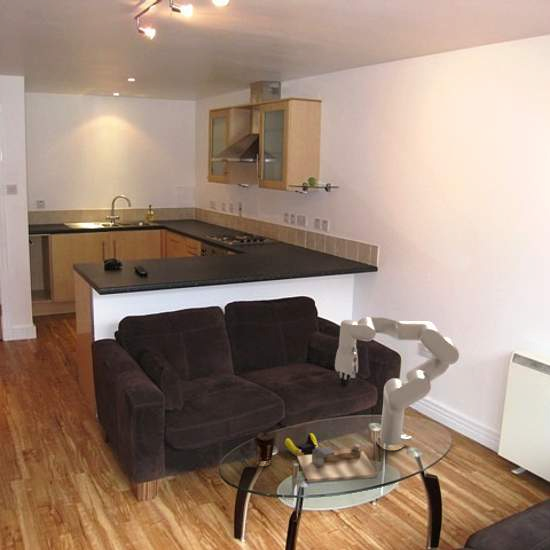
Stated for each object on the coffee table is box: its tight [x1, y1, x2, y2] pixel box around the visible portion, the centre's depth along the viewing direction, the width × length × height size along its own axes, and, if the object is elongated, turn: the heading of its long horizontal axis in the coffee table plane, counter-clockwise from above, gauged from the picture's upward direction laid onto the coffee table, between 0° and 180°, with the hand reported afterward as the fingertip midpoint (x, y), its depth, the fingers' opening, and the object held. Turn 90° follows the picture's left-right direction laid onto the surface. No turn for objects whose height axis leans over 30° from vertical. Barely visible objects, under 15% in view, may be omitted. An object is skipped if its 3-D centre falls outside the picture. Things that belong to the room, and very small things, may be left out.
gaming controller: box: [284, 432, 319, 457], centre depth 269 cm, size 15×6×10 cm
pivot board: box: [296, 443, 378, 482], centre depth 257 cm, size 30×18×7 cm, turn 101°
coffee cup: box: [254, 431, 276, 462], centre depth 257 cm, size 9×8×13 cm
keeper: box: [312, 445, 335, 468], centre depth 257 cm, size 8×5×6 cm, turn 113°
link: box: [324, 446, 362, 462], centre depth 261 cm, size 18×4×3 cm, turn 108°
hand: (344, 386), depth 272 cm, fingers closed
